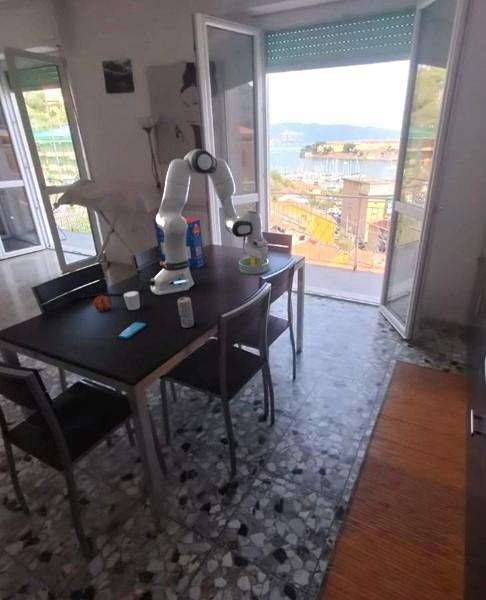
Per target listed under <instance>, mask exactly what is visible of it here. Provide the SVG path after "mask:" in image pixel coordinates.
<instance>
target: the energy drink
mask: <svg viewBox="0 0 486 600" xmlns="http://www.w3.org/2000/svg"><path fill="white" fill-rule="evenodd" d="M177 308H178V314H179V321H180V326H181V328H184V329H188V328H191V327H193V326H194V325H195V320H194V313H193V306H192V300H191V298H190V296H181V297H179V298H178V299H177Z"/></svg>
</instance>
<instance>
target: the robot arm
mask: <svg viewBox="0 0 486 600" xmlns="http://www.w3.org/2000/svg"><path fill="white" fill-rule="evenodd" d="M194 174H197V175H199V174H201V175H207V176H208V177H209V178H210V179H209V180H210V182H211V185H212V188H213V190H214V192H215V194H216V196H217V197H218V200H219V202H220V205H221V208H222V211H223V213H224V227H225V229H226V231H227V232H229V233H230V234H232V235H233V236H235V237H237V238H243V237H245V241H244V244H243V246H244V247H243V249H244V252H245V253H246V254H248V255H249V257H251V256H255V257H257V259H258V261H257V264H258V265H260V264H261V260H265V259H268V257H269V251H268V249H269V248H268V245H269V244H268V243H269V242H268V241H267V240H266V238H265V237H264V235H263V231H262V229H263V221H262V215H261V213H260V212H258V211H255V210H247V211H246V212H245V213H244V214H243V215H242V216H239V215H238V213H237V212H236V209H235V206H234V201H233V197H234V194H235V193H236V185H235V181H234V177H233V175H232V172H231V169H230V167H229V165H228V163H227V162H226V160H225V159H224V158H221V157H214V156H213V155H212V153H210V152H209V151H208V150H205V149H201V148H195V149H194V148H193V149H190V150H188V151H187V152H186V153H185V154H184V156H183V157H182V158H175V159H172V160H171V162H170V163H169V167H168V170H167V172H166V176H165V177H166V178H165V184H164V191H163V196H162V200H161V203H160V206H159V209H158V212H157V214H156V217H155V219H156V222H157V224H158V226H159V228H160V229H162V230H163V231H164V236H165V240H164V252H165V258H166V261H165V262H162V261H161V260H160V261H159V265H160V266H161V267H162V269H161V270H160V271H159V272H158V273H157V274H156V275H155V276H154V277H151V278H150V281H149V282H146V283H145V284H143V286H142V288H141V289H139V290H136V291H137V292H138V293H141V292H142V291H143V290H144V289H145V288H146V287H147V286H148V285H150V284H151V285H150V291H151V293H153V294H154V295H157V296H162V295H163V296H164V295H169V294H174V293H175V294H176V293H179V292H185V291H189V290H190V288H191V287H193V286H194V285H195V282H194V280H193V277H192V274H191V270H190V269H191V268H190V267H189V266H190V265H189V260H188V258H187V251H186V232H187V229H188V225H187V222H186V220H185V219H184V218H185V217H184V216H183V215H182V212H183V209H184V207H185V205H186V204H187V201H188V195H189V189H190V184H191V179H192V176H193V175H194ZM125 293H126V292H124V293H96V294H90V295H91V296H89V295H85V296H86V297H84V296H81V297H82V298H79V300H80V299H88V298H94V297H98V296H101V295H103V296H123V295H124V294H125Z"/></svg>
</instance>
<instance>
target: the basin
mask: <svg viewBox="0 0 486 600" xmlns="http://www.w3.org/2000/svg"><path fill="white" fill-rule="evenodd" d="M261 264H262V265H259V266H251V257H250V256H247V257H244V258H241V259H239V261H238V271H239V272H240V273H242V274H245V275H259V274H261V275H262V274H264V273H266V272H267V271H269V270H270V260H269V259H268V258H267V259H265V260H261Z"/></svg>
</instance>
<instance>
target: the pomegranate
mask: <svg viewBox="0 0 486 600" xmlns="http://www.w3.org/2000/svg"><path fill="white" fill-rule="evenodd" d="M93 306H94V308H95V309H96V310H97V311H99V312H105V311H109V310H110V309H111V307H112V300H111V298H110V297H109V296H108V295H100V296H95V298H94V300H93Z"/></svg>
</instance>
